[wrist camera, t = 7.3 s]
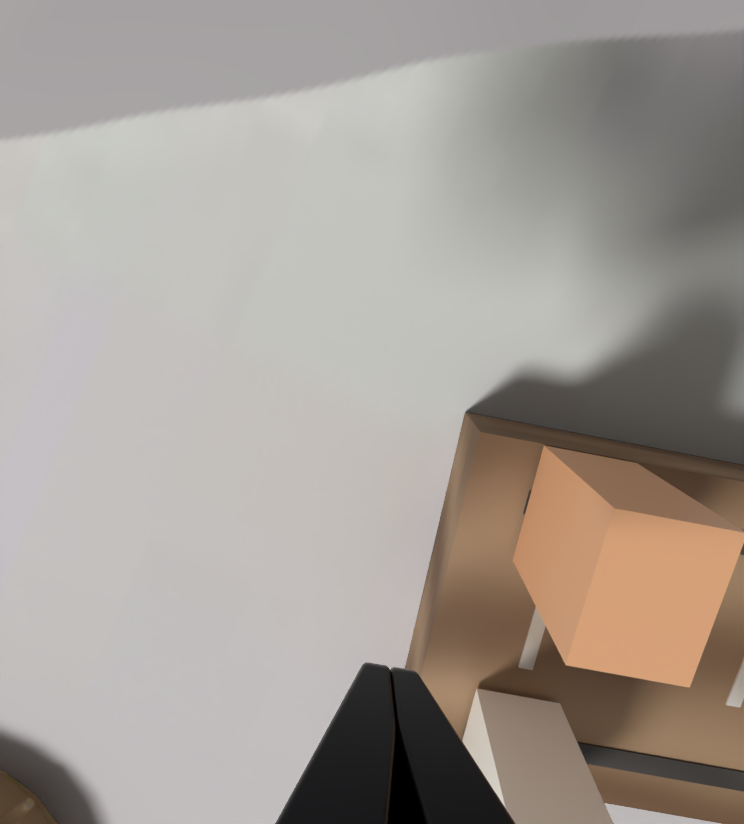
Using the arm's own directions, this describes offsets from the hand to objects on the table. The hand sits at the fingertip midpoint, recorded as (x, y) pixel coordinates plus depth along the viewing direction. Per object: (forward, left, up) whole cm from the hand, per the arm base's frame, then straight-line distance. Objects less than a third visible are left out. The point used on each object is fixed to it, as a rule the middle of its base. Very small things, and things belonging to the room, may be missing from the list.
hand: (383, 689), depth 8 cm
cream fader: (-9, -6, -9) cm, 14 cm away
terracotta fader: (0, -6, -9) cm, 11 cm away
